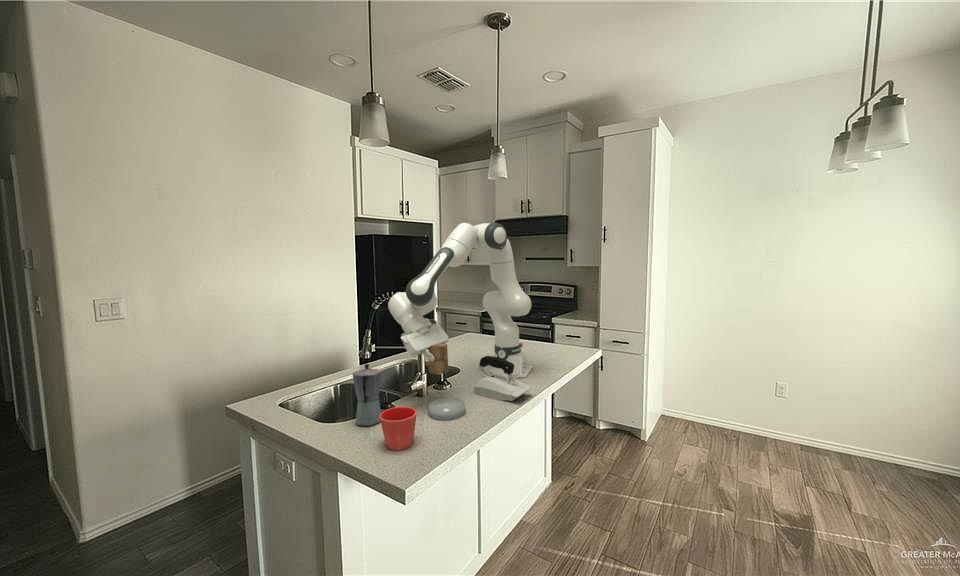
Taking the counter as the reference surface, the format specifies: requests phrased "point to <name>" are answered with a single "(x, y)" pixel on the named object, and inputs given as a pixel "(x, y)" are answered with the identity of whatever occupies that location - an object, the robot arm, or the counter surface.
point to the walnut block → (438, 359)
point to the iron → (499, 380)
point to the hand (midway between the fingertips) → (439, 357)
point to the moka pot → (367, 395)
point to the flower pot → (398, 427)
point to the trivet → (446, 409)
